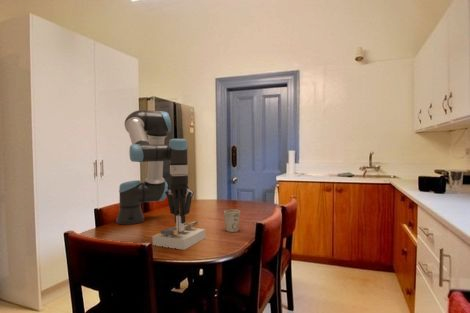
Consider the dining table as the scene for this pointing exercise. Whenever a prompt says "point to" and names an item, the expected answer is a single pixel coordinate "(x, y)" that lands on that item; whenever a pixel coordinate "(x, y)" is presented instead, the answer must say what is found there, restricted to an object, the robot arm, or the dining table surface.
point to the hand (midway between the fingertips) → (180, 230)
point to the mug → (232, 219)
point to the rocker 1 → (171, 231)
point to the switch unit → (179, 238)
